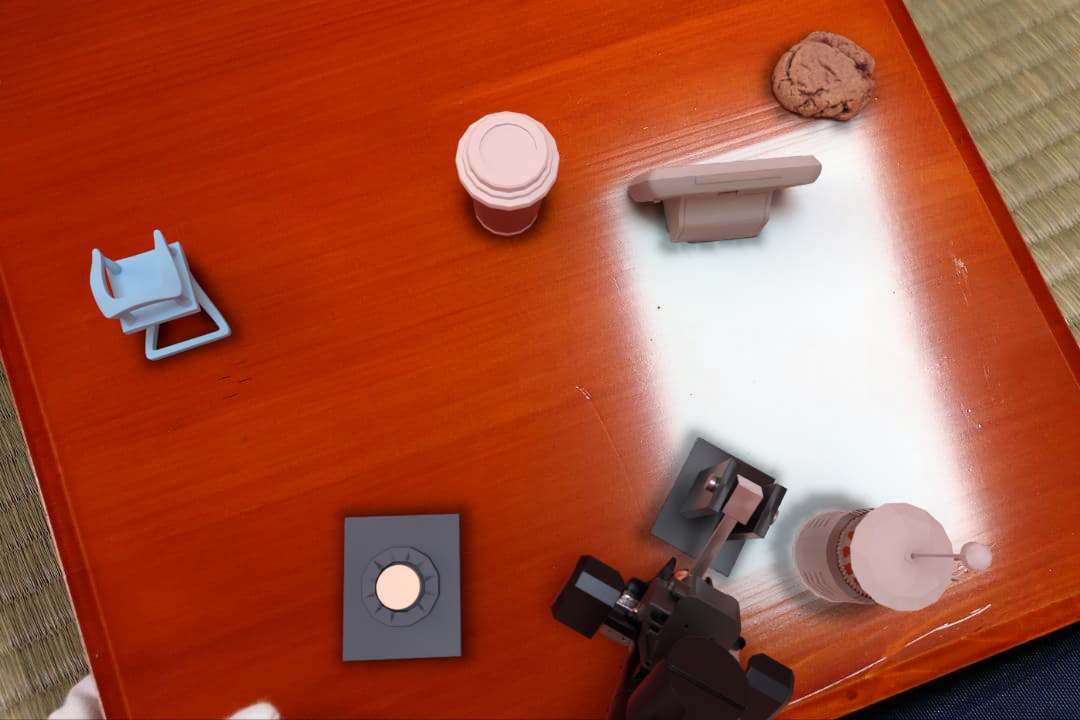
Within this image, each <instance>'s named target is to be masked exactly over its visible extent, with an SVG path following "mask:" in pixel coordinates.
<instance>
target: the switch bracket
mask: <svg viewBox="0 0 1080 720" xmlns="http://www.w3.org/2000/svg"><path fill="white" fill-rule="evenodd" d="M737 475H740V476H742V477H744V478H745V479H747V480H749V481H751V482H753V483H754V484H756V485H758V486H760V487H761V489H762V493H763V498H762V500H761V502H760V503H759V505H758V506H757V508H756V510H755V511H754V513H753V514H752V516H751V518H750V519H749V521H748V522H747V524H746V525H744V524H742V523H740V522H739V521H737V523H736V524H735V526H734V528H733V529H732V531H731V532H730V534H729V536H728V537H727V539H726V540H725V542H724V544H723V545H722V547H721V548H720V550H719V552H718V553H717V555H716V556H715V558H714V560H713V561H712V563H711V564H710V566H709V568H710V569H711V570H713V571H715V572H717V573H719V574H721V576H724V577H726V578H729V577H730V575H731V573H732V571H733V568H734V566H735V564H736V562H737V560H738V559H739V556H740V554H741V552H742V550H743V548H744V546H745V544H746V542H747V541H748V540H761V539H762V540H763V539H765V537H766V536H767V533H768V531H769V529H770V527H771V526H772V525H773V524H775V522H776V521H777V518H778V517H779V514H780V510H779V508H780V506H781V504H782V502H783V500H784V498H785V496H786V493H787V492H788V488H786V487H785V486H783V485H781V484H779V483H777V482H776V478H775V477H772V476H770V475H769V474H767V473H766V472H764V471H762V470H760V469H758V468H757V467H755V466H752V464H749V463H747V462H745V461H744V460H742V459H740V458H738V457H736V456H735V455H733V454H731V453H729V452H728V451H725V450H723V449H722V448H720V447H718V446H716V445H714V444H713V443H711V442H709V441H707V440H706V439H704V438H702V437H700V436H698V437H696V440H695V442H694V444H693V446H692V447H691V449H690V451H689V454H688V456H687V457H686V459H685V461H684V462H683V465H682V467H681V468H680V471H679V473H678V475H677V477H676V478H675V481H674V483H673V484H672V486H671V489H670V490H669V492H668V494H667V496H666V498H665V500H664V502H663V504H662V506H661V508H660V510H659V512H658V514H657V516H656V518H655V520H654V522H653V523H652V526H651V528H650V529H649V531H648V534H649V535H651V536H653V537H655V538H656V539H658V540H660V541H662V542H663V543H666V544H667V545H668V546H670V547H672V548H674V549H676V550H678V551H679V552H681V553H682V554H684V555H686V556H689V557H690V558H692V559H694V560H695V558H696V557H697V555H698V553H699V552H700V550H701V549H702V547H703V545H704V544H705V542H706V540H707V539H708V537H709V536H710V534H711V532H712V531H713V529H714V528H715V526H716V524H717V523H718V521H719V519H720V518H721V516H722V515H723V513H722V512H721V507H722V505H723V503H724V501H725V499H726V497H727V495H728V493H729V491H730V489H731V487H732V485H733V483H734V481H735V479H736V477H737ZM775 482H776V483H775Z"/></svg>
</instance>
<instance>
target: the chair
mask: <svg viewBox="0 0 1080 720" xmlns="http://www.w3.org/2000/svg"><path fill="white" fill-rule="evenodd" d="M153 239H154V240H153V241H154V249H152V250H148V251H146V252H142V253H139V254H136V255H132V256H128V257H126V258H122V259H118V260H115V261H113V260H112V259H110V258H108V257H106V256H104V255H103V253H102V252H101V251H100V250H99V249H98V248H94V249H92V252H91V253H92V255H91V257H92V260H91V261H92V263H91V267H90V274H89V275H90V277H89V284H90V288H91V292H92V295H93V298H94V300H95V302H96V304H97V306H98V308H99V310H100V311H101V313H102V315H103V316H104V317H105V318H107V319H115V320H119V321H120V326H121V329H122V333H124V334H125V335H127V336H128V335H131V334H134V333H137V332H138V333H139V332H140V331H143V330H146V331H145V332H146V333H145V356H146V358H147V359H148V360H150V361H158V360H162V359H165V358H168V357H171V356H174V355H177V354H180V353H183V352H185V351H188V350H192V349H194V348H198V347H201V346H204V345H207V344H210V343H213V342H216V341H219V340H222V339H225V338H228V337H230V336H231V335H232V330H231V327H230V325H229V323H228V322H227V320H226V319H225V318H224V316H223V315H222V313H221V312H220V310H218V308H217V306H215V304H214V303H213V301H212V300H211V299H210V298H209V297H208V295H207V294H206V292H205V291H204V290H203V289H202V287H201V286H200V284H199V283H198V282H197V280H196V279H195V277H194V275H193V274H192V271H190V266H189V263H188V260H187V257H186V254H185V252H184V249H183V245H182V243H180V242H179V241H176V242H172V243H170V244H168V241H167V239H166V237H165V236H164V234H163V233H162V232H161V231H160V230H159V229H155V230H154V231H153ZM105 269H106V272H105ZM105 273H107V277H108V280H109V284H110V287H111V290H112V294H113V296H112V294H111V292H110V290H109V288H108V285H107V280H106V275H105ZM201 307H202V308H203V310H205V312H206V313H207V315H209V316H210V318H211V319H212V320H213V321H214V322H215V324H216V325H217V326H218V328H219V329H218V330H216V331H214V332H211V333H207V334H204V335H201V336H197V337H195V338H191V339H188V340H185V341H182V342H178V343H175V344H171V345H169V346H165V347H163V348H159V349H157V347H158V345H157V344H158V337H159V329H160V324H163V323H166V322H170V321H172V320H176V319H180V318H183V317H187V316H190V315H194V314H197V313H200V312H202V310H201Z"/></svg>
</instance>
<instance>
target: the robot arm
mask: <svg viewBox="0 0 1080 720" xmlns="http://www.w3.org/2000/svg"><path fill="white" fill-rule="evenodd" d="M677 560H678V559H677V558H676V557H674V556H672V557H671V558H670V559H669V560H668V561H667V562H666V563H665V564H664V565H663V566H662V568H661V569H660V570H659V571H658V572H657V573H656V574H655V575H654V576H652V577H651V578H650V579H648V580H647V581H646V580H643V579H642V578H640V577H638V576H632V577H630V578H628V579H627V581H626V582H625V580H624V579H623V577H622V576H623V575H621V573H620V571H619V570H618V569H616V568H614V567H613V566H610V565H608V563H605V562H603V561H601V560H600V559H598V558H596V557H594V556H593V555H591V554H582V555H579V558H578V559H577V561H576V562H575V563H574V565H573V566H572V568H571V570H570V571H569V572H568V574H567V576H566V578H565V579H564V580H563V582H562V583H561V585H560V587H559V588H558V590H557V592H556V593H555V596H554V598H553V599H552V602H551V605H550V607H549V608H550V611H551V615H552V618H553V619H554V620H556V621H558V623H561V624H563V625H564V626H566V627H568V628H570V629H571V630H573V631H574V632H576V633H578V634H580V635H582V636H583V637H585V638H587V639H589V640H591V641H592V639H593V638H594V636H595V635H596V633H597V632H598V630H599V634H601V635H603V636H605V637H606V638H607V639H610V640H612V641H613V642H615V643H616V644H617V645H620V646H624V647H628V649H627V652H626V655H625V656H624V657H623V659H622V662H621V665H620V669H621V671H620V674H619V676H618V680H617V683H616V685H615V689H614V692H613V695H612V696H611V698H610V699H609V701H608V705H607V707H606V712H607V713H606V717H605V719H604V720H773V719H774V718H775V717H776V716H777V715H779V714H780V713H781V712H782V711H783V710H784V709H785V708H786V707H787V706H789V703H790V702H791V700H792V697H793V695H794V690H795V681H796V676H795V674H794V671H793V669H792V668H790V667H788V666H787V665H785V664H784V663H782V662H779V661H777V660H776V659H774V658H772V657H770V655H769V656H768V655H767V654H765V653H764V652H760V653H757V654H753V655H751V656H750V657H749V658H748V660H747V664H746V669H744V668H743V666H742V665H741V663H742V662H741V659H740V656H741V651H743V649H744V648H745V647H746V645H747V640H746V638H745V637H744V636H742V635H741V633H742V619H741V618H742V617H741V606H740V603H739V601H738V600H737V599H736V598H735V597H734V596H733V595H730V594H728V593H724V592H723V591H722V590H719V589H718V588H716V587H714V584H713V580H712V578H711V577H710V576H705V578H704V579H703V578H702V579H703V580H704V581H703V580H702V579H700V578H698V577H696V576H686V577H684V578H683V579H681V580H679V579H676V578H675V577H673V576H672V574H673V573H674V572H675V569H676V565H677ZM671 576H672V577H671ZM670 578H671V579H670Z"/></svg>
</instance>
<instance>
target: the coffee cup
mask: <svg viewBox="0 0 1080 720" xmlns="http://www.w3.org/2000/svg"><path fill="white" fill-rule="evenodd" d="M560 159H561V158H560V154H559V150H558V146H557V142H556V139H555V138H554V137H553V135H552V134H551V133H550V132H549V131H548V129H547V128H546V126H545V125H544V124H543V123H541V122H540V121H538V120H536V119H534V118H532V117H531V116H530V115H528V114H526V113H519V112H514V111H507V110H505V111H500V112H494V113H490V114H486V115H484V116H483V117H482V118H480V119H478V120H477V121H475V122H473V123H472V124H469V126H468V128H467V129H466V131H465V132H464V133H463V135H462V136H461V137H460V139H459V141H458V144H457V150H456V154H455V161H454V162H455V166H456V170H457V175H458V180H459V182H460V184H461V185H462V186H463V187H464V189H465V190H466V192H467V193H468V194H469V196H470V197H471V200H472V203H473V208H474V212H475V216H476V218H477V220H478V221H479V223H480V224H481V225H482V226H483V228H485V229H486V230H487V231H490V232H491V233H493V234H495V235H501V236H506V237H509V236H513V235H517V234H521V233H523V232H525V231H526V230H527V229H529V228H530V227H532V225H533V223H534V222H535V220H536V219H537V218H538V215H539V210H540V208H541V205H542V201H543V199H544V197H546V196H547V194H548V193H549V191H550V190H551V188H552V187H553V186H554V184H555V183H556V181H557V178H558V171H559V166H560Z"/></svg>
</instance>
